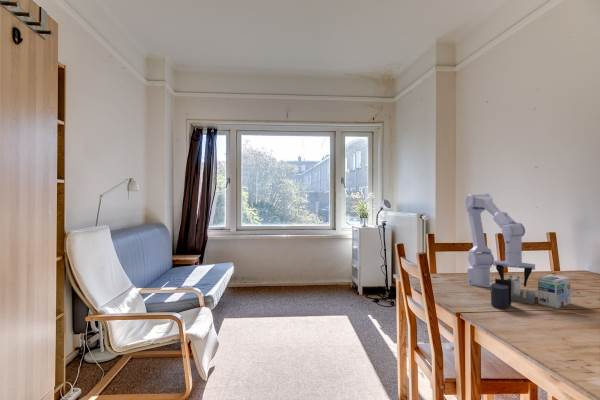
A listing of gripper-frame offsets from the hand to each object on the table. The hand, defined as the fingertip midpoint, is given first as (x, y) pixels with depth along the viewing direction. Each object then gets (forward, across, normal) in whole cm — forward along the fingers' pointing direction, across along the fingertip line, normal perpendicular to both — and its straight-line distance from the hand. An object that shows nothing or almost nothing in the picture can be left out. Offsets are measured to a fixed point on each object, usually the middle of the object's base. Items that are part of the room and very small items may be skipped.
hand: (513, 284), depth 134 cm
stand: (+6, 0, 0) cm, 6 cm away
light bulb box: (+6, +13, -1) cm, 14 cm away
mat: (+6, +3, +12) cm, 13 cm away
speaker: (+6, -3, -15) cm, 16 cm away
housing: (+3, 0, 0) cm, 3 cm away
